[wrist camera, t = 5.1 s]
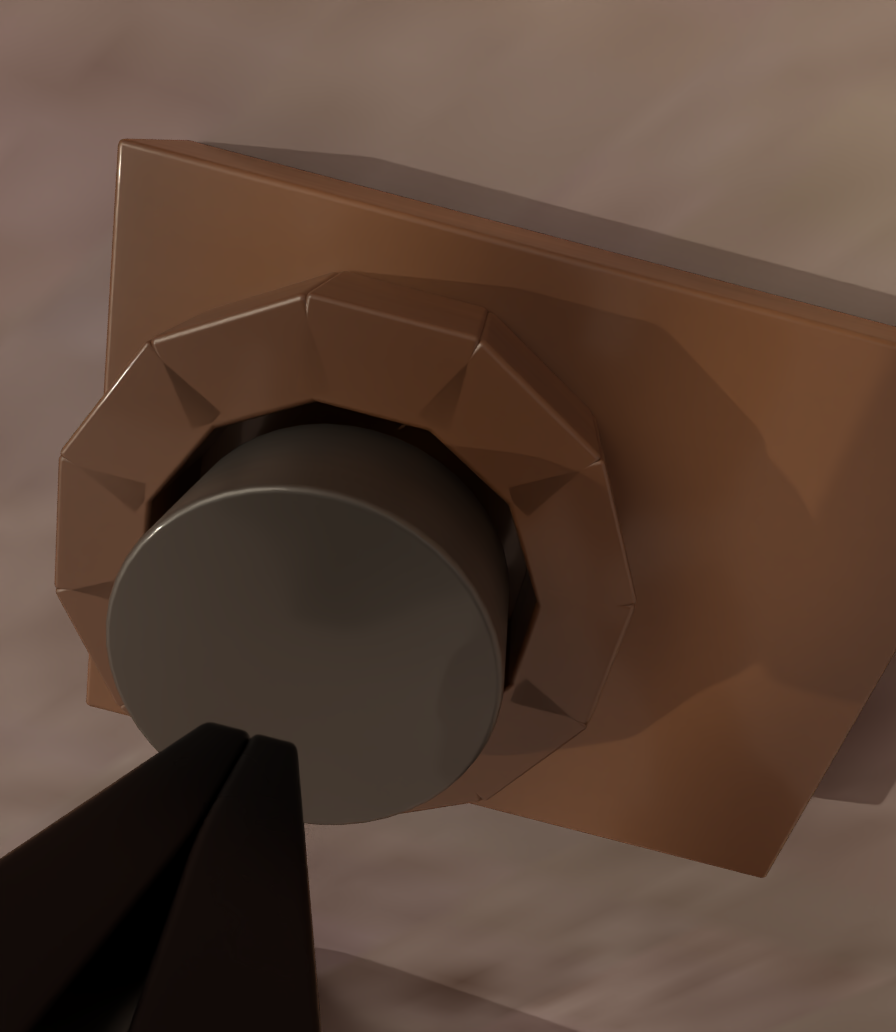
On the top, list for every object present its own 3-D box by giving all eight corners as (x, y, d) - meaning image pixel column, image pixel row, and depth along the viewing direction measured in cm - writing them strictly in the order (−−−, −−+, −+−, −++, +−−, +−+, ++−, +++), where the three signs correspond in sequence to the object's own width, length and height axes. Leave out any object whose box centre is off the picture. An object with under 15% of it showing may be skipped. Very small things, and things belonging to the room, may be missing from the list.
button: (552, 473, 10) (556, 551, 8) (463, 750, 12) (450, 865, 10) (194, 380, 10) (114, 434, 8) (163, 674, 12) (92, 775, 10)
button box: (967, 345, 12) (1153, 429, 8) (736, 789, 16) (796, 979, 12) (185, 138, 12) (32, 133, 8) (140, 636, 16) (22, 781, 12)
